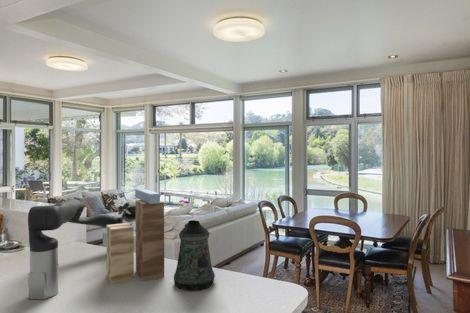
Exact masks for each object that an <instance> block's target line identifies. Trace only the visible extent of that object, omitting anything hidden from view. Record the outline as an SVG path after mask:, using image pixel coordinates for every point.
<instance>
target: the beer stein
mask: <svg viewBox="0 0 470 313" xmlns="http://www.w3.org/2000/svg"><path fill="white" fill-rule="evenodd" d="M178 237H179V240H180V243H179V248H178V249H179V250H178V251H179V252H178V257H177V263H176V268H175V272H174V274H173V280H174V282H173V283H174V286H175V287H176V288H177V289H179V290H181V291H185V292H201V291H205V290H208V289H210V288H211V287H212V286H213V285H214V281H215V277H216V274H215V271H214V269H213V266H212V260H211V254H210V253H211V252H210V246H209V237H210V231H209V230H208V229H207V228H206V227H204V226H203V225H202V224H200V220H189V221H188V222H187V223H185V225H184V227H183V228H182V230H180V231H179V233H178Z"/></svg>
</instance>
